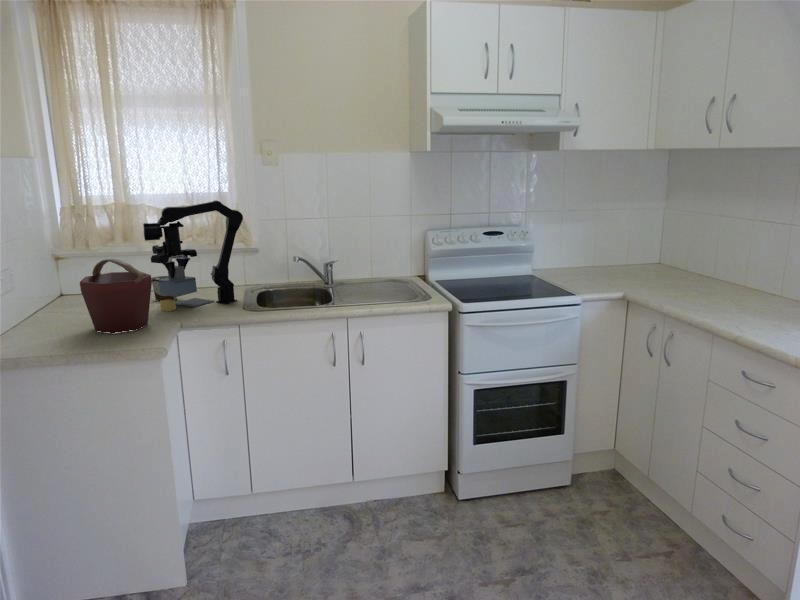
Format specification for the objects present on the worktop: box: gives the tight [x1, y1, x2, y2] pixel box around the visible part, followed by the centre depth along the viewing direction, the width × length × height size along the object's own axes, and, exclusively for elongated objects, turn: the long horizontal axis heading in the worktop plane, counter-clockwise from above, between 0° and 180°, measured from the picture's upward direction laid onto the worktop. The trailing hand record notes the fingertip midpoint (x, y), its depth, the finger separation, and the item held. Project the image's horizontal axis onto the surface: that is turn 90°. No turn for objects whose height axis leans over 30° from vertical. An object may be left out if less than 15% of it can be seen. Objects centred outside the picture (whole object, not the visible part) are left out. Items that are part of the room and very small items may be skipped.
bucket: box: [79, 258, 153, 333], centre depth 205 cm, size 24×22×25 cm
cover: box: [159, 265, 198, 298], centre depth 235 cm, size 10×10×11 cm
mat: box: [175, 297, 215, 309], centre depth 244 cm, size 12×12×1 cm
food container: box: [151, 275, 178, 302], centre depth 250 cm, size 12×6×10 cm, turn 74°
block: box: [159, 299, 177, 313], centre depth 232 cm, size 4×4×4 cm
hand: (176, 276), depth 234 cm, fingers closed on cover, 4 cm apart
